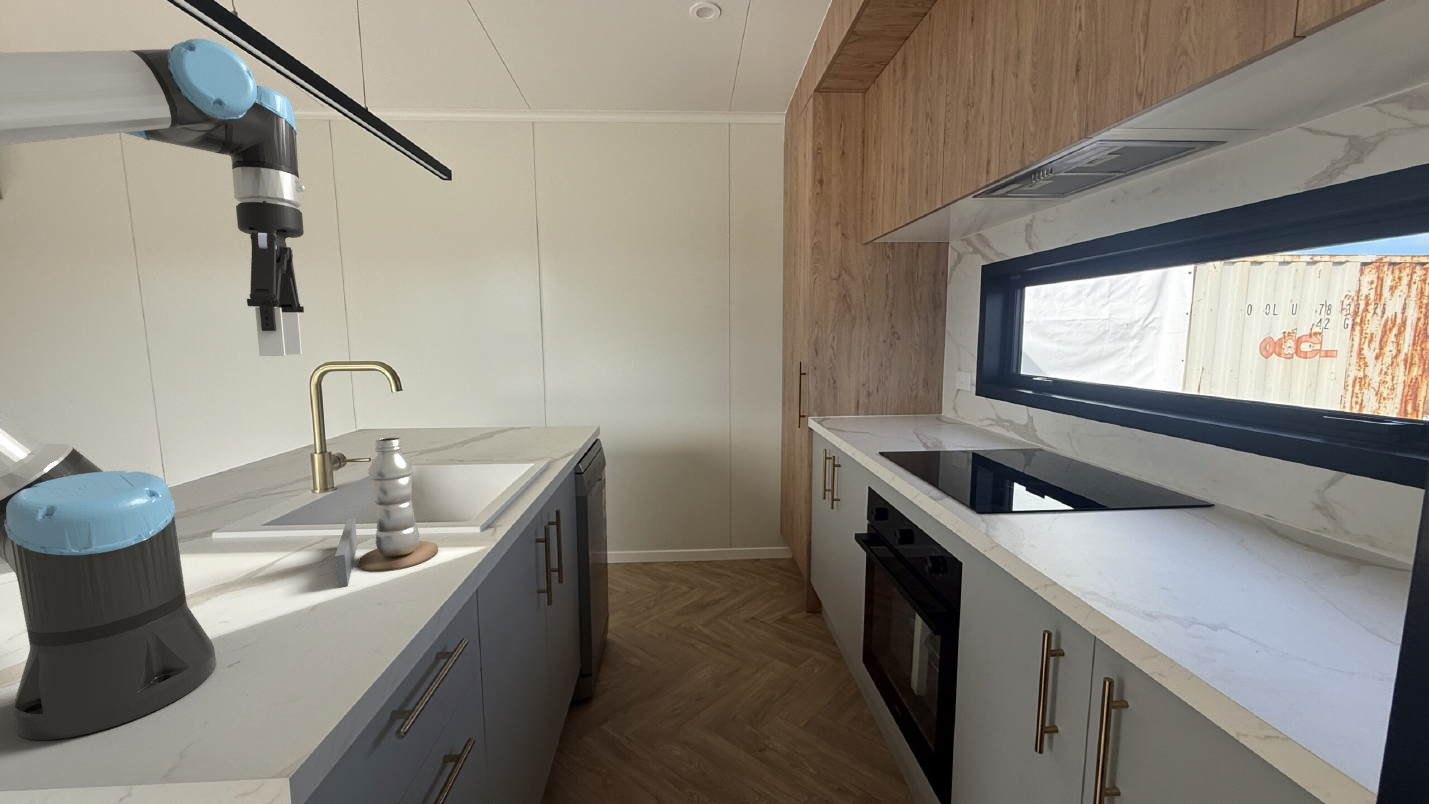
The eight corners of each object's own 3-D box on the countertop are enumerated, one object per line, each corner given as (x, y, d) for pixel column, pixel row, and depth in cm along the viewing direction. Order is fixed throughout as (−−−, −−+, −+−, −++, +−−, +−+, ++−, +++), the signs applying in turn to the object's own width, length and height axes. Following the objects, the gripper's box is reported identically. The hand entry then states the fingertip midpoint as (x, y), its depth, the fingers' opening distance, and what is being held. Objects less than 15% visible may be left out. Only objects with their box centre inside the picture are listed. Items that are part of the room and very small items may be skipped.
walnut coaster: (356, 577, 91) (355, 573, 91) (361, 552, 102) (361, 549, 102) (439, 561, 97) (439, 558, 97) (436, 539, 107) (436, 536, 107)
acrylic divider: (338, 587, 88) (334, 556, 87) (349, 545, 105) (347, 519, 104) (347, 585, 88) (344, 554, 87) (357, 544, 106) (354, 518, 105)
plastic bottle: (408, 561, 96) (397, 442, 93) (368, 561, 96) (356, 443, 93) (428, 546, 102) (418, 435, 100) (390, 547, 102) (379, 436, 100)
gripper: (285, 188, 73) (299, 356, 75) (314, 224, 95) (324, 353, 97) (208, 181, 70) (225, 357, 72) (257, 220, 92) (269, 354, 94)
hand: (282, 355), depth 84 cm, fingers open, 13 cm apart
